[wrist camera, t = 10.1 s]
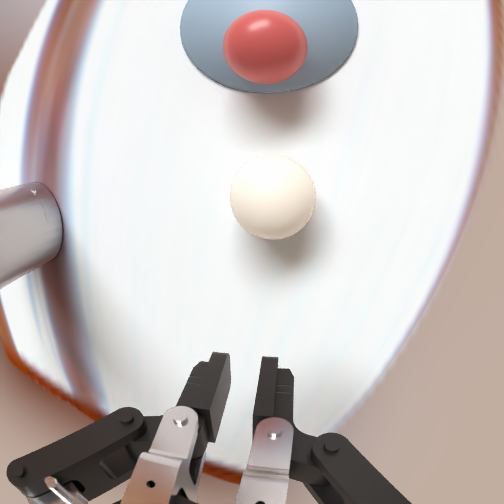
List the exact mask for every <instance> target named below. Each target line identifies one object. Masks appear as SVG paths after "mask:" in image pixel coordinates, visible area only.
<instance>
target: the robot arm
mask: <svg viewBox="0 0 504 504" xmlns="http://www.w3.org/2000/svg"><path fill="white" fill-rule="evenodd" d="M61 243H62V222H61V216H60V212H59V209H58V206H57V203H56V201H55V199H54V197H53V195H52V194H51V192H50V191H49V190H48V189H47V188H46V187H45V186H44V185H42V184H41V183H37V182H32V183H27V184H23V185H19V186H15V187H11V188H6V189H2V190H0V289H1V288H3V287H5V286H6V285H8V284H10V283H11V282H13V281H15V280H17V279H18V278H20V277H22V276H23V275H25V274H27V273H29V272H31V271H33V270H34V269H36V268H38V267H40V266H41V265H43V264H45V263H47V262H49V261H50V260H52V259H54V258H55V257H56V255H57V254H58V252H59V250H60V246H61ZM230 384H231V371H230V355H229V354H228V353H218V352H213V353H212V355H211V357H210V360H209V362H203V361H201V362H199V363H198V364H197V365H196V366H195V367H194V368H193V370H192V372H191V374H190V377H189V378H188V381H187V383H186V385H185V387H184V390H183V392H182V394H181V396H180V398H179V401H178V403H177V405H176V407H173V408H170V409H169V410H167V411H166V412H165V414H164V415H162V416H143V415H142V413H141V412H140V411H139V410H137V409H135V408H132V407H124V408H120V409H118V410H116V411H115V412H113V413H111V414H109V415H107V416H105V417H103V418H101V419H100V420H98V421H96V422H94V423H92V424H90V425H88V426H87V427H84V428H82V429H80V430H78V431H76V432H74V433H72V434H70V435H68V436H66V437H64V438H62V439H60V440H58V441H56V442H54V443H52V444H49V445H47V446H45V447H43V448H41V449H39V450H36V451H34V452H32V453H30V454H27V455H25V456H23V457H20V458H18V459H16V460H13V461H12V462H11V463H10V464H9V465H8V468H7V477H8V479H9V481H10V482H11V483H12V484H13V485H14V486H15V487H17V489H19V490H20V491H21V493H22V494H24V495H25V496H26V498H27V499H28V501H29V503H30V504H88V501H90V500H92V499H94V498H96V497H98V496H100V495H102V494H103V493H105V492H107V491H109V490H111V489H112V488H114V487H116V486H118V485H119V484H121V483H123V482H124V481H126V480H128V479H129V478H130V481H129V483H128V486H127V488H126V491H125V493H124V496H123V498H122V500H120V501H118V502H115V503H113V504H198V486H199V482H200V477H201V473H202V469H203V464H204V460H205V456H206V451H205V450H206V447H207V444H208V442H213V443H215V441H216V437H217V434H218V430H219V426H220V423H221V419H222V416H223V412H224V408H225V405H226V401H227V398H228V394H229V390H230ZM293 393H294V376H293V374H292V373H291V371H290V369H281V368H278V357H264V356H263V357H262V362H261V368H260V375H259V381H258V387H257V393H256V399H255V405H254V411H253V443H252V448H251V452H250V456H249V460H248V464H247V468H246V470H245V471H244V473H243V476H242V480H241V484H240V487H239V491H238V495H237V499H236V503H235V504H286V497H287V489H288V482H289V478H291V479H294V480H297V481H301V482H303V484H304V485H305V487H306V488H307V489H308V491H309V492H310V493H311V495H312V496H313V497H314V498H315V500H316V501H317V502H318V504H411V502H409V501H408V500H407V499H406V498H405V497H404V496H403V495H402V494H401V493H400V492H399V491H398V490H397V489H396V488H395V487H394V486H393V485H392V484H390V483H389V481H388V480H386V478H384V477H383V475H381V473H379V472H378V470H377V469H376V468H375V467H373V465H371V464H370V462H369V461H368V460H367V459H366V458H365V457H364V456H363V455H361V453H360V452H359V451H358V450H357V449H356V448H355V447H354V446H353V445H352V444H351V443H350V442H349V441H348V439H346V438H345V437H344V436H342V435H340V434H337V433H325V434H322V435H320V436H319V437H314V436H310V435H307V434H304V433H302V432H301V431H299V430H298V429H297V428H296V427H295V425H294V423H293Z"/></svg>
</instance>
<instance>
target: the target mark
mask: <svg viewBox="0 0 504 504" xmlns="http://www.w3.org/2000/svg"><path fill="white" fill-rule="evenodd" d="M255 10H274V11H278V12H281V13H284V14H286V15H288V16H289V17H291V18H292V19H294V20H295V21H296V22H297V23H298V24H299V25H300V27H301V28H302V30H303V31H304V33H305V36H306V38H307V44H308V51H307V57H306V59H305V62H304V64H303V65H302V67H301V68H300V69H299V71H298V72H296V73H295V74H294V75H293V76H291V77H290V78H288V79H286V80H284V81H281V82H278V83H273V84H259V83H254V82H251V81H248V80H245V79H244V78H242V77H240V76H239V75H237V74H236V73H235V72H234V71H233V70H232V69H231V68H230V66H229V65H228V63H227V62H226V59H225V57H224V53H223V39H224V35H225V33H226V31H227V29H228V27H229V26H230V25H231V24H232V22H234V21H235V20H236V19H237V18H238V17H240V16H242V15H243V14H245V13H248V12H251V11H255ZM357 32H358V19H357V14H356V10H355V7H354V5H353V3H352V1H351V0H188V2H187V4H186V6H185V8H184V10H183V14H182V17H181V24H180V34H181V40H182V44H183V47H184V49H185V51H186V53H187V55H188V57H189V58H190V60H191V61H192V62H193V63H194V64H195V66H196V67H197V68H198V69H200V70H201V71H202V72H203V73H204V74H205V75H207V76H208V77H210V78H212V79H213V80H215V81H217V82H219V83H221V84H223V85H226V86H229V87H231V88H234V89H239V90H243V91H248V92H257V93H276V92H285V91H291V90H296V89H299V88H302V87H306V86H309V85H311V84H313V83H316V82H318V81H320V80H322V79H323V78H325V77H327V76H328V75H330V74H331V73H332V72H334V71H335V70H336V69H337V68H338V67H339V66H340V65H341V64H342V63H343V62H344V61H345V60H346V58H347V57H348V56H349V54H350V53H351V51H352V48H353V46H354V44H355V41H356V38H357Z"/></svg>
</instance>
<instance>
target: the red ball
mask: <svg viewBox="0 0 504 504" xmlns="http://www.w3.org/2000/svg"><path fill="white" fill-rule="evenodd" d="M307 51H308V44H307V38H306V36H305V33H304V31H303V30H302V28H301V27H300V25H299V24H298V23H297V22H296V21H295V20H294V19H292V18H291V17H289V16H288V15H286V14H284V13H281V12H278V11H274V10H255V11H251V12H248V13H245V14H243V15H242V16H240V17H238V18H237V19H236V20H235V21H234V22H232V24H231V25H230V26H229V27H228V29H227V31H226V33H225V35H224V39H223V53H224V57H225V59H226V62H227V63H228V65H229V66H230V68H231V69H232V70H233V71H234V72H235V73H236V74H237V75H239V76H240V77H242V78H244V79H245V80H248V81H251V82H254V83H259V84H273V83H278V82H281V81H284V80H286V79H288V78H290V77H291V76H293V75H294V74H295V73H296V72H298V71H299V69H300V68H301V67H302V65H303V64H304V62H305V59H306V57H307Z"/></svg>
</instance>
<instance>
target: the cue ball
mask: <svg viewBox="0 0 504 504" xmlns="http://www.w3.org/2000/svg"><path fill="white" fill-rule="evenodd" d="M315 203H316V192H315V187H314V183H313V181H312V179H311V177H310V175H309V173H308V172H307V171H306V170H305V168H304V167H303V166H302V165H300V164H299V163H298V162H296V161H295V160H293V159H291V158H289V157H286V156H282V155H276V154H269V155H263V156H259V157H257V158H254V159H252V160H250V161H249V162H247V163H246V164H245V165H244V166H243V167H242V168H241V169H240V170H239V171H238V173H237V174H236V176H235V178H234V180H233V182H232V185H231V190H230V204H231V208H232V212H233V214H234V216H235V218H236V220H237V221H238V222H239V224H240V225H241V226H242V227H243V228H244V229H245V230H246V231H248V232H249V233H251V234H252V235H254V236H257V237H259V238H263V239H269V240H278V239H284V238H287V237H290V236H292V235H294V234H296V233H297V232H299V231H300V230H301V229H302V228H303V227H304V226H305V225H306V224H307V223H308V221H309V220H310V218H311V216H312V214H313V211H314V208H315Z"/></svg>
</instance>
